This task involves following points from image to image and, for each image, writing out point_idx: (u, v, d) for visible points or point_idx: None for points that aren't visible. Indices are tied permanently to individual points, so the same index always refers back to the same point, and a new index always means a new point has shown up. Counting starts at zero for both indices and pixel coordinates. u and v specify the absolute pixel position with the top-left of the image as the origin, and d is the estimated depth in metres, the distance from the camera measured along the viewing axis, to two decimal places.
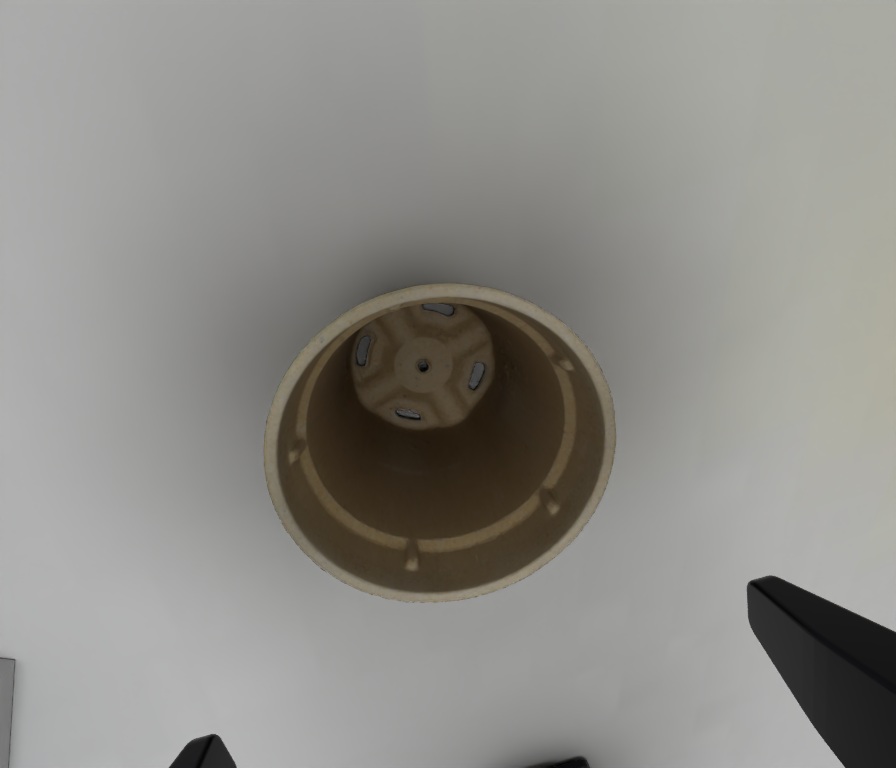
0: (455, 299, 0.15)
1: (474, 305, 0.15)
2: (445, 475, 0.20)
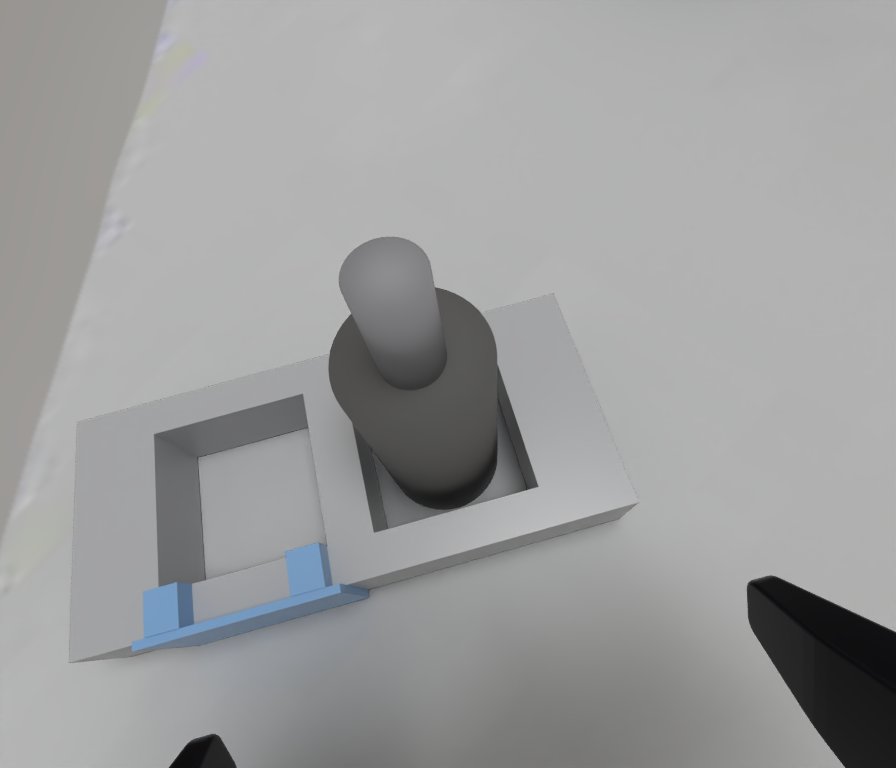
0: None
1: None
2: None
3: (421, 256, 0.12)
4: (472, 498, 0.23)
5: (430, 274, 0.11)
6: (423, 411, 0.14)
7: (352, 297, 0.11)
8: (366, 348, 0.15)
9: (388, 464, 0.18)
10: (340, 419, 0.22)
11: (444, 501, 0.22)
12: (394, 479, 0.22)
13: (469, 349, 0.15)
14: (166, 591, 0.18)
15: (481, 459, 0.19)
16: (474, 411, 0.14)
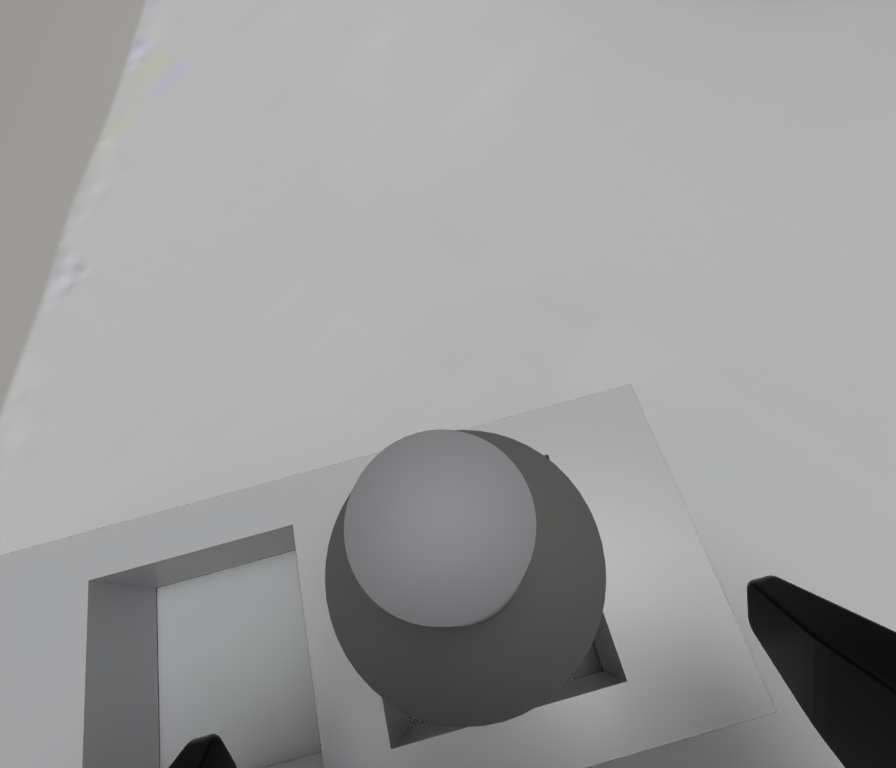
0: None
1: None
2: None
3: (512, 478, 0.06)
4: None
5: (534, 524, 0.05)
6: (486, 669, 0.09)
7: (372, 575, 0.05)
8: None
9: None
10: None
11: None
12: None
13: (557, 549, 0.09)
14: None
15: None
16: None
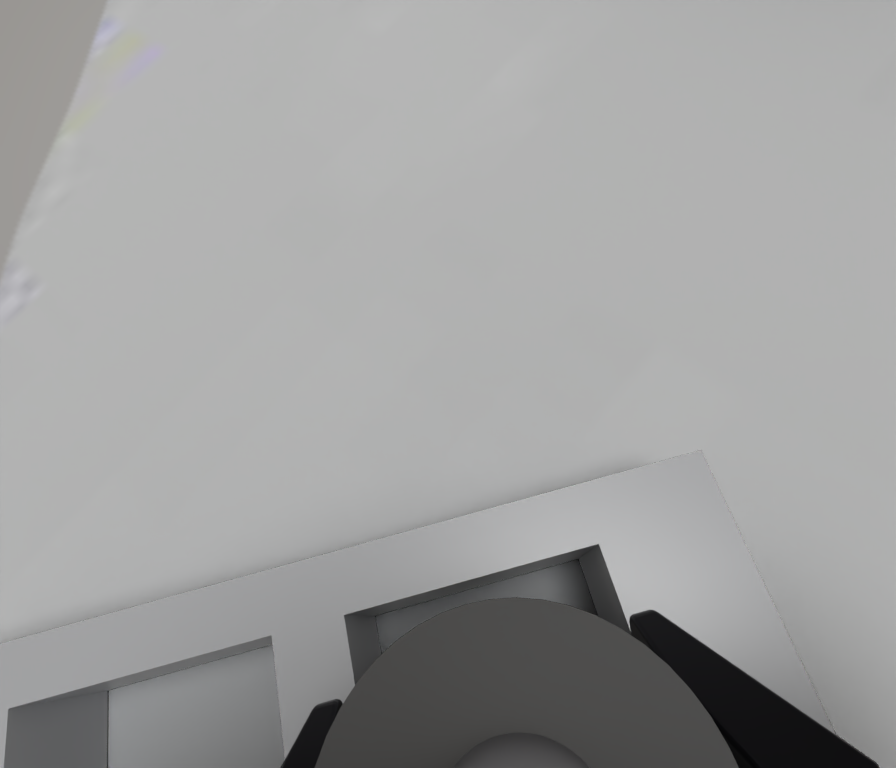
0: None
1: None
2: None
3: None
4: None
5: None
6: None
7: None
8: None
9: None
10: (337, 693, 0.12)
11: None
12: None
13: None
14: None
15: None
16: None
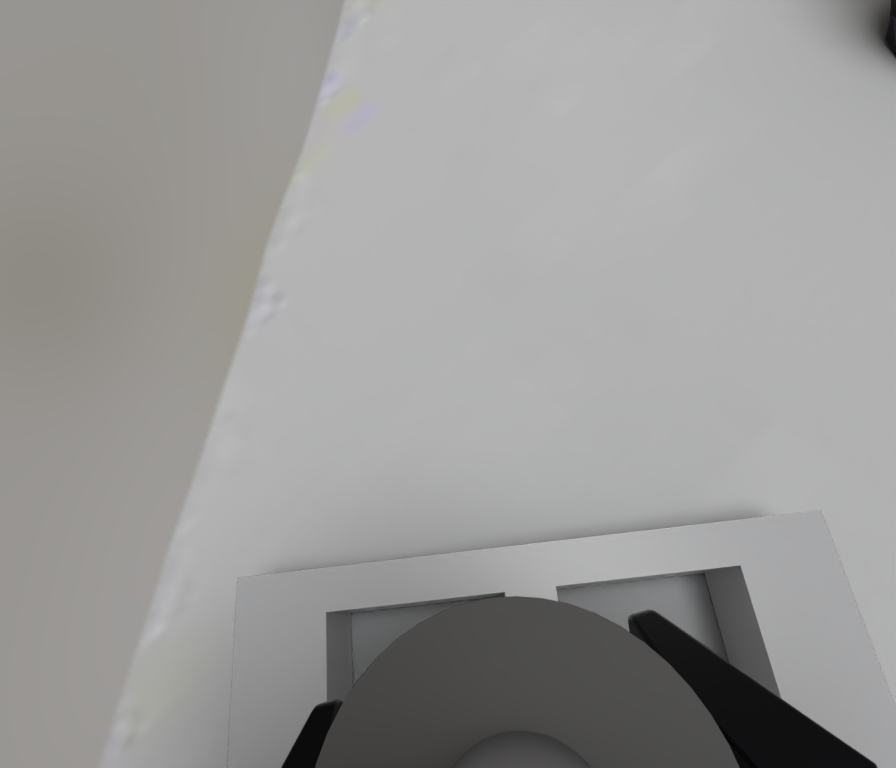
0: None
1: None
2: None
3: None
4: None
5: None
6: None
7: None
8: None
9: None
10: None
11: None
12: None
13: None
14: None
15: None
16: None
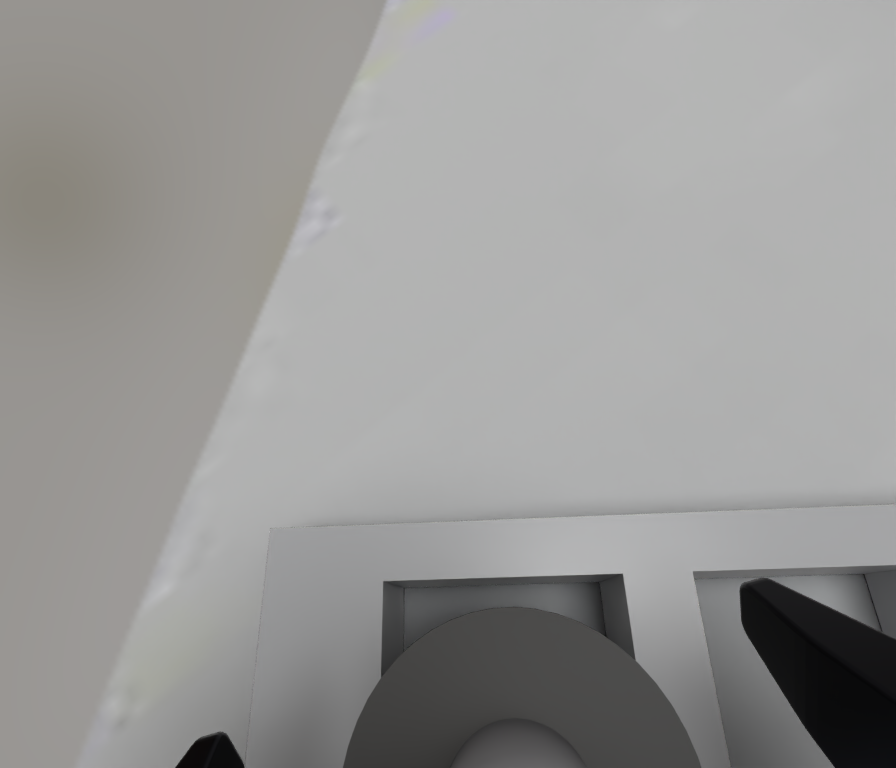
0: None
1: None
2: None
3: None
4: None
5: None
6: None
7: None
8: None
9: None
10: (688, 639, 0.13)
11: None
12: None
13: None
14: None
15: None
16: None
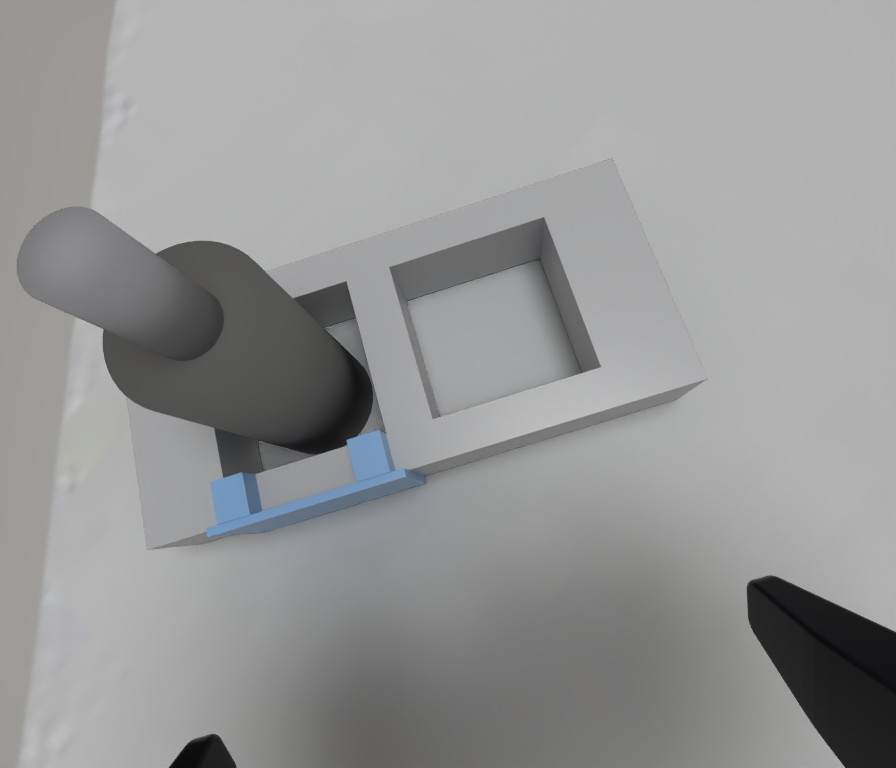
0: None
1: None
2: None
3: (101, 223, 0.10)
4: (353, 434, 0.23)
5: (113, 241, 0.10)
6: (209, 377, 0.14)
7: (34, 288, 0.10)
8: None
9: None
10: (388, 306, 0.21)
11: (320, 446, 0.21)
12: None
13: (244, 300, 0.14)
14: (233, 481, 0.19)
15: (327, 400, 0.18)
16: (261, 365, 0.14)
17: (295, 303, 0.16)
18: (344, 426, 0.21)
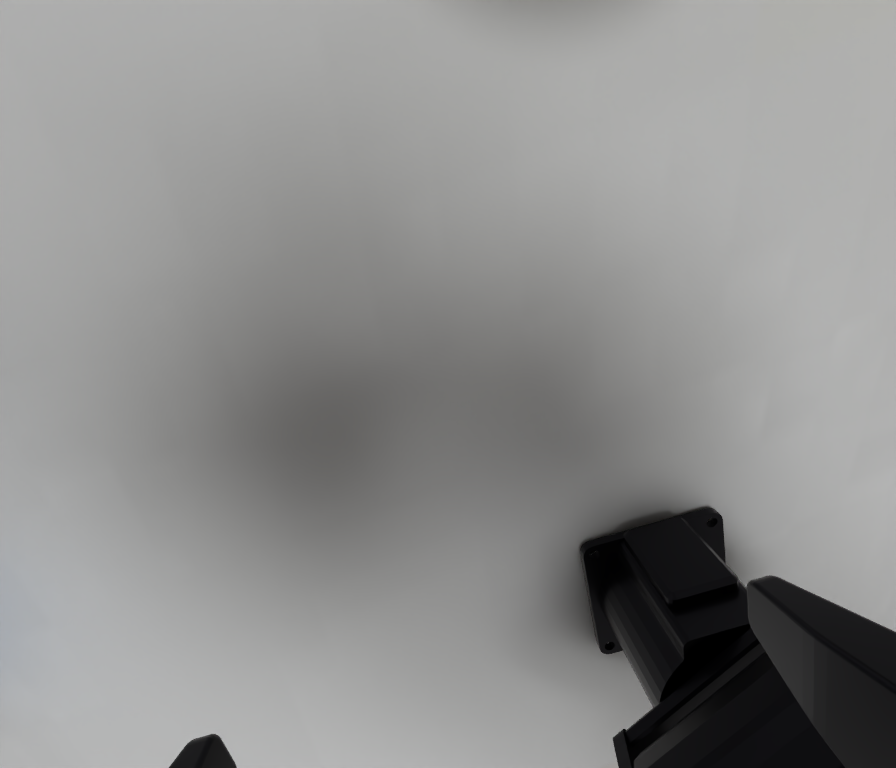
0: None
1: None
2: None
3: None
4: None
5: None
6: None
7: None
8: None
9: None
10: None
11: None
12: None
13: None
14: None
15: None
16: None
17: None
18: None
